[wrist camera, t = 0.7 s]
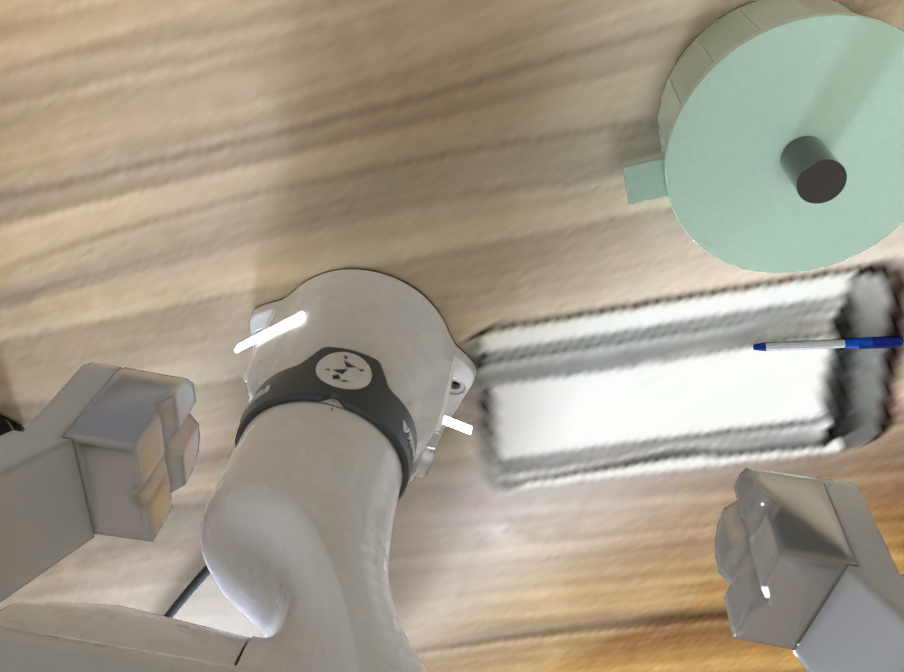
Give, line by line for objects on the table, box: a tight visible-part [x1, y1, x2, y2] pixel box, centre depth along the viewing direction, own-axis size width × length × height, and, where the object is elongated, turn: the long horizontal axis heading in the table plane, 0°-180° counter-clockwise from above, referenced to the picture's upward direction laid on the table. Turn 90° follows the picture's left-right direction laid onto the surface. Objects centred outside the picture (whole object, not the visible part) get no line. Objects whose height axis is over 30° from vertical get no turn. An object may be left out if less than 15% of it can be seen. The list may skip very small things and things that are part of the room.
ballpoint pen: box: [753, 337, 904, 351], centre depth 57 cm, size 10×1×1 cm, turn 99°
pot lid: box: [664, 12, 904, 273], centre depth 40 cm, size 15×15×5 cm
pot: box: [621, 0, 855, 204], centre depth 45 cm, size 14×19×8 cm
